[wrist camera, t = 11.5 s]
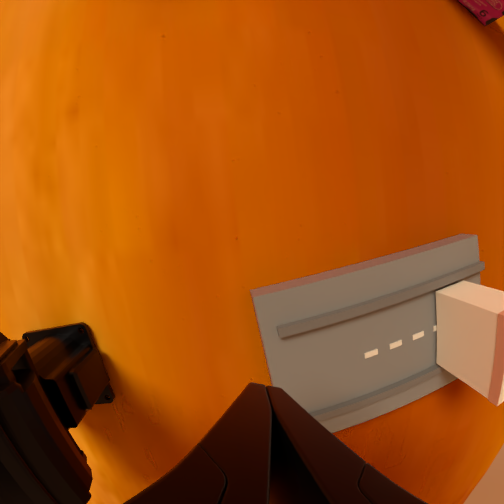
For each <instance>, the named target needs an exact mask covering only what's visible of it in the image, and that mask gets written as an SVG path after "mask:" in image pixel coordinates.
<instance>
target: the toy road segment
mask: <svg viewBox="0 0 504 504" xmlns="http://www.w3.org/2000/svg"><path fill="white" fill-rule="evenodd" d="M484 269H485V267H484V262H482V261H479V249H478V238H477V235H471V234H459V235H456V236H452V237H449V238H446V239H442V240H439V241H436V242H432V243H429V244H425V245H422V246H418V247H415V248H411V249H408V250H404V251H401V252H397V253H394V254H390V255H386V256H383V257H379V258H375V259H372V260H368V261H364V262H361V263H357V264H353V265H349V266H345V267H342V268H338V269H334V270H330V271H326V272H322V273H318V274H314V275H310V276H306V277H302V278H298V279H294V280H290V281H286V282H282V283H278V284H274V285H270V286H265V287H261V288H257V289H253V290H250V293H251V297H252V301H253V306H254V310H255V315H256V319H257V323H258V328H259V332H260V336H261V341H262V345H263V349H264V354H265V358H266V362H267V366H268V371H269V375H270V379H271V384H272V386H274V387H279V388H282V389H283V390H284V391H285V392H286V393H287V394H288V395H290V396H291V397H292V398H293V399H294V400H295V401H296V402H297V403H298V404H299V405H300V406H301V407H303V408H304V409H305V410H306V411H307V412H308V413H309V414H310V415H311V416H313V417H314V418H315V419H316V420H317V421H318V422H319V423H320V424H322V425H323V426H324V427H325V428H326V429H327V430H328V431H330V432H331V433H334V432H337V431H340V430H343V429H346V428H348V427H351V426H354V425H357V424H360V423H362V422H365V421H368V420H370V419H373V418H375V417H378V416H380V415H383V414H385V413H388V412H390V411H392V410H395V409H397V408H399V407H402V406H404V405H406V404H408V403H410V402H413V401H415V400H417V399H419V398H421V397H423V396H425V395H427V394H429V393H431V392H433V391H435V390H437V389H439V388H441V387H443V386H445V385H447V384H449V383H450V382H452V381H454V380H456V379H458V378H457V377H456V376H454V375H453V374H451V373H450V372H448V371H447V370H445V369H444V368H443V367H441V366H440V365H438V364H437V363H436V360H437V314H436V291H438V290H441V289H443V288H446V287H448V286H451V285H453V284H456V283H458V282H461V281H463V280H464V281H467V282H471V283H475V284H478V285H480V271H482V270H484Z"/></svg>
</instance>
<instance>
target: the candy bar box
mask: <svg viewBox="0 0 504 504" xmlns="http://www.w3.org/2000/svg"><path fill="white" fill-rule="evenodd" d="M458 1H459V2H460V3H461V4H462V5H464V6H465V7H466V8H467V9H468V10H469V11H470V12H471V13H472V14H473V15H474V16H475V17H476V18H477V19H478V20H479V21H481V22H482V23H483V24H484V25H485V26H486V25H488V24H490V23H492V22H493V21H495V20H497V19H498V18H500V17H502V16H503V15H504V0H458Z"/></svg>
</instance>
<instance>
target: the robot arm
mask: <svg viewBox="0 0 504 504" xmlns="http://www.w3.org/2000/svg"><path fill="white" fill-rule="evenodd" d="M80 327H81V328H83V330H84V332H82V331H81V330H80ZM27 337H28V338H29V340H28V338H27ZM109 381H110V379H109V377H108V374H107V372H106V369H105V367H104V364H103V362H102V359H101V356H100V354H99V351H98V350H97V349H96V348H95V345H94V342H93V339H92V336H91V333H90V331H89V328H88V326H87V325H86V324H85V323H83V322H80V323H75V324H69V325H64V326H58V327H53V328H47V329H41V330H35V331H29V332H26V333H24V334H23V336H22V340H18V341H17V340H11V341H10V339H8V338H7V337H5V336H4V335H3V334H2V333H1V332H0V504H87V503H88V501H89V500H90V498H91V493H90V492H89V490H90V486H91V483H92V479H93V478H92V472H91V468H90V467H89V466H88V464H87V457H86V455H85V454H84V452H83V451H82V450H80V448H79V447H78V445H77V444H76V442H75V441H74V439H73V437H72V436H71V434H70V433H69V431H68V430H69V429H70V428H76V427H77V426H78V424H79V423H80V421H81V420H82V418H83V417H84V415H85V414H86V412H87V411H88V410H91V409H92V407H93V406H94V404H104V403H111V402H113V400H114V398H115V395H114V393H113V390H112V388H111V386H110V383H109ZM106 395H108V396H110V398H108V397H107V396H106ZM365 463H366V462H365V461H364V460H363V459H362V458H361V457H359V456H358V455H357V454H356V453H354V452H353V451H352V450H351V449H350V448H348V447H347V446H346V445H345V444H344V443H342V442H341V441H340V440H339V439H338V438H337V437H335V436H334V435H333V434H332V433H331V432H330V431H328V430H327V429H326V428H325V427H324V426H323V425H322V424H320V423H319V422H318V421H317V420H316V419H315V418H314V417H313V416H311V415H310V414H309V413H308V412H307V411H306V410H305V409H304V408H303V407H301V406H300V405H299V404H298V403H297V402H296V401H295V400H294V399H293V398H292V397H291V396H290V395H288V394H287V393H286V392H285V391H284V390H283V389H282V388H279V387H274V386H266V387H265V385H263V384H257V383H252V382H251V383H249V384H248V385H247V386H246V388H245V389H244V390H243V391H242V393H241V394H240V395H239V396H238V397H237V399H236V400H235V401H234V402H233V403H232V405H231V406H230V407H229V408H228V409H227V411H226V412H225V413H224V414H223V415H222V417H221V418H220V419H219V420H218V421H217V422H216V424H215V425H214V426H213V427H212V428H211V429H210V430H209V432H208V433H207V434H206V435H205V436H204V437H203V438H202V439H201V441H200V442H199V443H198V444H197V445H196V446H195V447H194V448H193V449H192V450H191V451H190V452H189V453H188V454H187V455H186V456H185V457H184V458H183V459H182V460H181V461H180V462H179V463H178V464H177V465H176V466H175V467H174V468H173V469H171V470H170V471H169V472H168V473H166V474H165V475H164V476H163V477H161V478H160V479H159V480H157V481H156V482H155V483H153V484H152V485H150V486H149V487H147V488H146V489H144V490H143V491H141V492H140V493H138V494H137V495H135V496H134V497H132V498H131V499H129V500H128V501H126V502H125V503H123V504H428V503H426V502H424V501H422V500H421V499H419V498H417V497H415V496H414V495H412V494H411V493H409V492H407V491H406V490H404V489H403V488H401V487H400V486H398V485H397V484H395V483H394V482H392V481H391V480H390V479H388V478H387V477H386V476H384V475H383V474H382V473H380V472H379V471H378V470H376V469H375V468H374V467H373V466H371V465H370V464H369V463H366V464H365Z"/></svg>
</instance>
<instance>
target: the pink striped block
mask: <svg viewBox="0 0 504 504" xmlns="http://www.w3.org/2000/svg"><path fill="white" fill-rule="evenodd" d="M436 314H437V360H436V363H437V364H438V365H440V366H441V367H443V368H444V369H445V370H447V371H448V372H450V373H451V374H453V375H454V376H456V377H457V378H459V379H460V380H462V381H463V382H464V383H466V384H467V385H469V386H470V387H472V388H473V389H475V390H476V391H478V392H479V393H481V394H482V395H483V396H485V397H486V398H488V400H489V401H490V402H492V403H493V404H494V405H496V406H498V405H500V404H501V403H502V402H504V291H500V290H496V289H493V288H489V287H486V286H482V285H478V284H475V283H471V282H467V281H464V280H463V281H461V282H458V283H456V284H453V285H451V286H448V287H446V288H443V289H441V290H438V291H436Z"/></svg>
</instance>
